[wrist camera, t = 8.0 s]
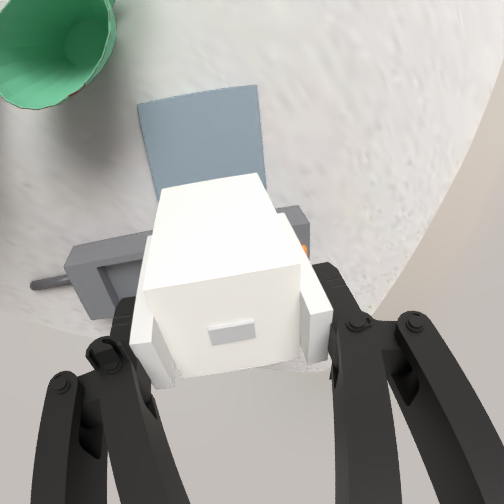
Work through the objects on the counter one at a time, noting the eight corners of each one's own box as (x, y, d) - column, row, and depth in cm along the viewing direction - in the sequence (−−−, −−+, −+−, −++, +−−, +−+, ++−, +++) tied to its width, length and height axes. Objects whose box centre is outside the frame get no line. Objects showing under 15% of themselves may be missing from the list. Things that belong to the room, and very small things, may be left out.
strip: (45, 305, 37) (26, 356, 30) (19, 258, 33) (-9, 307, 25) (299, 263, 40) (323, 314, 33) (298, 205, 35) (326, 251, 28)
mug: (112, 103, 26) (78, 126, 18) (29, 79, 22) (-28, 95, 14) (181, -33, 19) (176, -71, 11) (90, -55, 16) (52, -89, 7)
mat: (161, 207, 33) (160, 209, 32) (138, 104, 26) (137, 105, 26) (265, 189, 34) (266, 191, 33) (255, 84, 27) (256, 85, 27)
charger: (181, 265, 19) (181, 381, 12) (161, 189, 16) (142, 293, 10) (264, 251, 19) (300, 360, 13) (256, 172, 17) (302, 266, 10)
